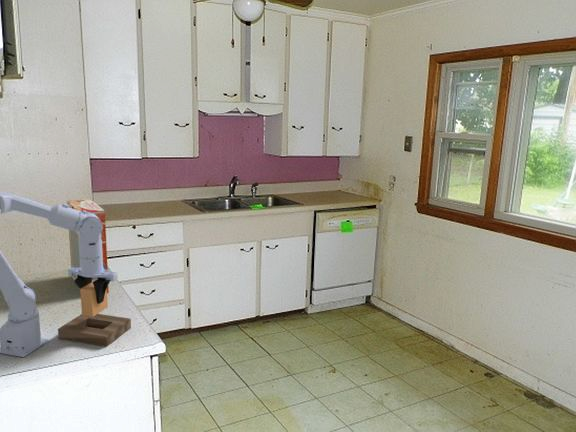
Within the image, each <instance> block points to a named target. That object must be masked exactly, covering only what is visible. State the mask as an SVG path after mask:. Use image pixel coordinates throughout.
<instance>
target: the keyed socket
mask: <svg viewBox="0 0 576 432" xmlns="http://www.w3.org/2000/svg"><path fill="white" fill-rule="evenodd" d="M131 328H132V320H131V318H127V317H123V316H116V315H110V314H109V315H108V314H103V313H98V314H97V315H95V316H94V317H90V316H83V315H82V313H81V314H79V315H77V316H76V317H74V318H72V319H71V320H69V321H68V322H66V323H64V324H63V325H61V326H60V327H59V328H57V335H58V339H59V340H64V341H70V342H77V343H84V344H90V345H95V346H101V347H105V348H107V347H109V346H110V345H111V344H113V343H114V342H115V341H116V340H117V339H119V338H120V337H122V336H123V335H124V334H125V333H126V332H128V331H129V330H130V329H131Z"/></svg>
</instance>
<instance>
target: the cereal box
mask: <svg viewBox="0 0 576 432" xmlns="http://www.w3.org/2000/svg"><path fill="white" fill-rule="evenodd" d="M66 204H67V205H68V206H69V208H72V209H75V210H79V211H83V210H84V211H86V212H91V213H93V214H95V215H96V216H97V217H98V218H99V219H100V221H101V223H102V226H103V230H102V232H101V240H102V253H103V267H104V269H105V270H108V271H109V269H108V250H107V249H108V248H107V231H106V230H107V228H106V211H105V210H104V208H102V207H101V206H99V205H98V204H97V203H96V202H94V201H93V200H92V199H90V198H86V199H73V200H66ZM68 236H69V237H68V238H69V253H70V268H72V267H75V268H81V255H80V231H72V230H68ZM71 277H72V279H73V281H74V280H75V279H77V276H75V275H73V276H71ZM95 280H98V278H92V282H94V281H95ZM77 287H78V286H77ZM78 289H79V287H78ZM107 294H109V285H108V286H107Z"/></svg>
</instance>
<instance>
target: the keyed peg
mask: <svg viewBox="0 0 576 432" xmlns="http://www.w3.org/2000/svg"><path fill="white" fill-rule="evenodd" d="M95 281H96V280H95ZM79 290H80V307H81V314H82V315H83V316H90V317H94V316H95V315H97V314H101V312H102V311H104V310H106V309H107V308H108V293H107V289H106V292H105V296H104V301H103V302H101V303H100V304H98V303H97V300H96V291H95V288H94V285H93V282H92V283H90V284H88V285H86V286H84V287H83V288H81V289H79Z"/></svg>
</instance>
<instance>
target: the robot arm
mask: <svg viewBox="0 0 576 432" xmlns="http://www.w3.org/2000/svg"><path fill="white" fill-rule="evenodd" d="M12 211H13V212H14V211H16V212H20V213H23V214H24V213H25V214H28V215H32V216H37V217H40V218H45V219H47V221H48V222H49V224H50V225H51V226H55V227H58V228H61V229H66V230H68V231H69V230H72V231H80V255H81V268H75V267H72V268H71V267H70V268H68V269H67V276H69V277H72V276H73V275H75V276H77V279H75V280H73V281H74V284H75V285H76V286H77V287H79V288H78V289H79V290H80V289H81V288H83V287H84V286H86V285H88V284H90V283H92V278H98V280H96V281H94V282H93V285H94V288H95V291H96V300H97V303H98V304H100V303H101V302H103V301H104V296H105V292H106V289H107V286H108V287H109V285H110V282H115V281H117V280H118V279H119V278H118V272H114V271H111V270H109V269H108V270H105V269H104V267H103V253H102V240H101V232H102V230H103V226H102V223H101V221H100V219H99V218H98V217H97V216H96V215H95V214H93V213H91V212H86V211H84V210H83V211H79V210H75V209H72V208H69V206H68V205H67V203H63V204H55V205H53V206H49V205H46V204H44V203H40V202H37V201H35V200H32V199H29V198H26V197H23V196H20V195H18V194H14V193H12V192H8V191H4V190H0V215H1V214H5V213H9V212H12ZM0 291H1V293H2V295H3V298H4V301H5V303H6V304H7V305H8V316H7V317H8V319H7V320H6V322H5V323H4V324H3V325H1V326H0V354H4V355H8V356H15V357H21V358H24V357H26V356H28V355H29V354H30V353H33V352H34V351H36V350H37V349H38V348H40V347H42V346H43V345H45V344H46V343H48V342H49V341H50V340H49V339H48V338H43V337H42V336H41V335H42V334H41V333H42V332H41V323H40V311H39V309H37V306H38V305H37V303H36V297H37V295H36V293H35V290H34V289H32V288H30V287H29V286H27V285H26V284H25V282H24V281H23V280H22V279H20V278H19V276H18V275H17V274H16V272H15V270H14V269H13V267H12V266H11V264H10V263H9V261H8V259H7V258H6V257H5V256H4V254H3V252H2V251H1V250H0Z"/></svg>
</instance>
